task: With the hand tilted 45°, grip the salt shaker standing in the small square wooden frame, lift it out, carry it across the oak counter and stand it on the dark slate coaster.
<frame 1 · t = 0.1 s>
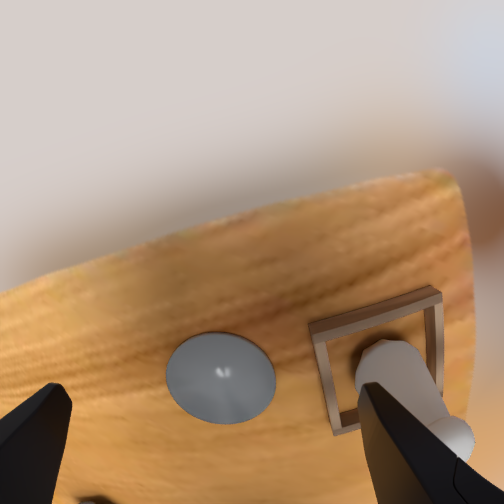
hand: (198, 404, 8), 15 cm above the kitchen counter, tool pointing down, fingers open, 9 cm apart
coaster: (220, 380, 25), on the kitchen counter
salt shaker: (379, 359, 25), resting in square wooden frame
square wooden frame: (380, 360, 24), on the kitchen counter
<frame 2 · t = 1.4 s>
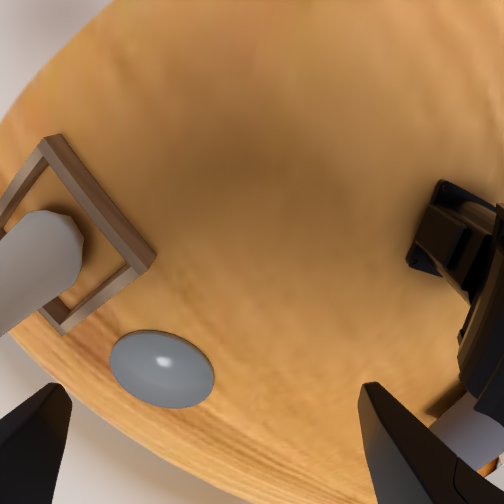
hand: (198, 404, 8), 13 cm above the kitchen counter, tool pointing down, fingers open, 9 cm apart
coaster: (161, 371, 25), on the kitchen counter
salt shaker: (62, 237, 20), resting in square wooden frame
bluetooth speaker: (503, 354, 26), on the kitchen counter
square wooden frame: (61, 239, 20), on the kitchen counter
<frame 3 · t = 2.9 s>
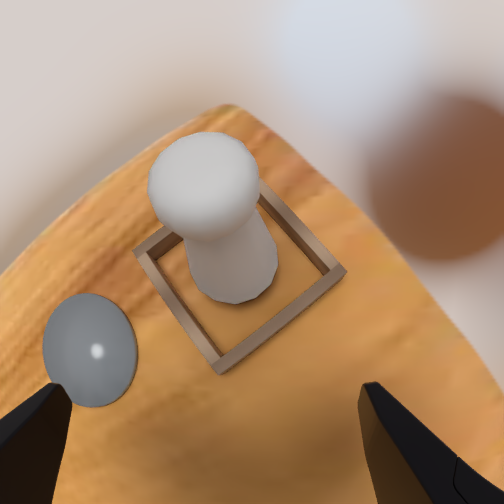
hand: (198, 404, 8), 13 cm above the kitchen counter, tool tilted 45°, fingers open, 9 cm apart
coaster: (87, 350, 22), on the kitchen counter
salt shaker: (237, 270, 23), resting in square wooden frame
square wooden frame: (237, 269, 23), on the kitchen counter
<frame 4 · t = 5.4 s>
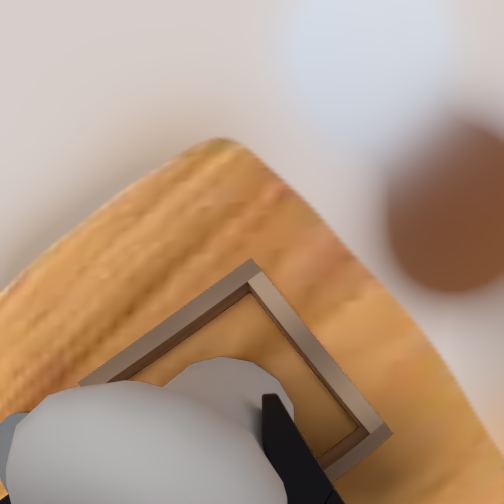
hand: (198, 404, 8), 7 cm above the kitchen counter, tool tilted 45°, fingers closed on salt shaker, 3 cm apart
coaster: (44, 477, 13), on the kitchen counter
salt shaker: (232, 414, 14), resting in square wooden frame, touching gripper
square wooden frame: (231, 415, 14), on the kitchen counter
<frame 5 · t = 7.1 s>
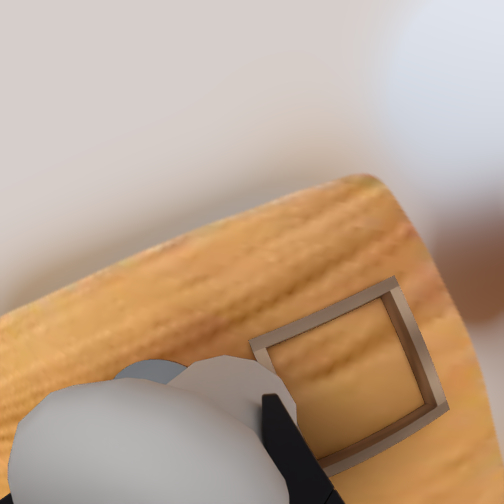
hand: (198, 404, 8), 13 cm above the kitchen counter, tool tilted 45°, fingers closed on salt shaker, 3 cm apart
coaster: (161, 420, 20), on the kitchen counter
salt shaker: (234, 413, 14), point 6 cm above the kitchen counter, touching gripper
square wooden frame: (351, 380, 20), on the kitchen counter
when the fingers open (9 cm above the kitchen counter, at t = 8.9 s): salt shaker drops 1 cm, resting on coaster.
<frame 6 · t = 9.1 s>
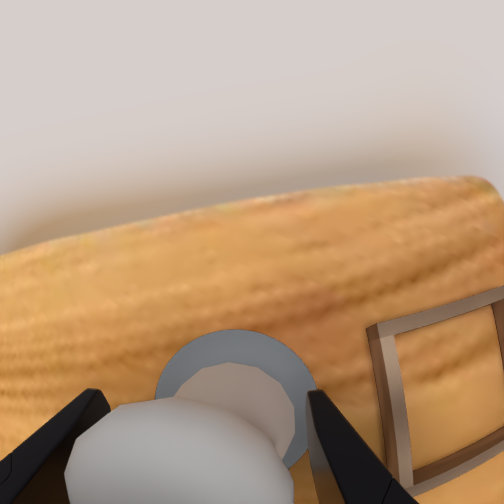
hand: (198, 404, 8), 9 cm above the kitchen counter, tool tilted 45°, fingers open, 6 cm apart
coaster: (236, 409, 16), on the kitchen counter
salt shaker: (237, 414, 16), resting on coaster
square wooden frame: (455, 388, 15), on the kitchen counter
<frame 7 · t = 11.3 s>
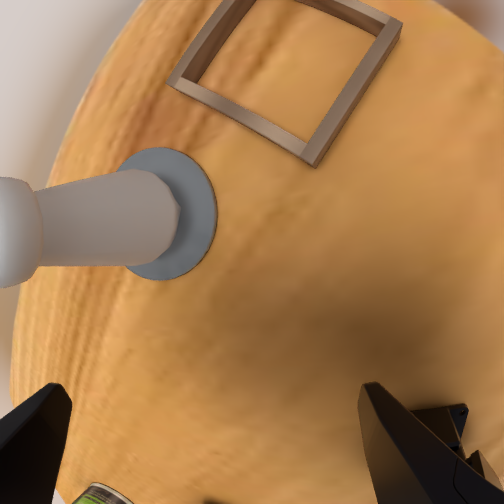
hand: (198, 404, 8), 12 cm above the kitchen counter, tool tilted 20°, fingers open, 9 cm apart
coaster: (156, 213, 21), on the kitchen counter
salt shaker: (156, 215, 21), resting on coaster
square wooden frame: (286, 57, 17), on the kitchen counter
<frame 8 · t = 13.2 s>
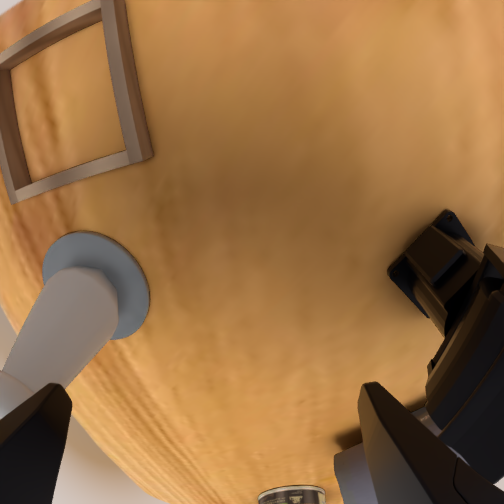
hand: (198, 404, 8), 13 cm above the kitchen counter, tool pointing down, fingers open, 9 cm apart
coaster: (94, 287, 22), on the kitchen counter
salt shaker: (94, 289, 21), resting on coaster
coffee can: (291, 495, 37), on the kitchen counter
bluetooth speaker: (428, 409, 29), on the kitchen counter
square wooden frame: (64, 101, 16), on the kitchen counter
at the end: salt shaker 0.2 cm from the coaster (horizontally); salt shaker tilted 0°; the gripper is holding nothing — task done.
